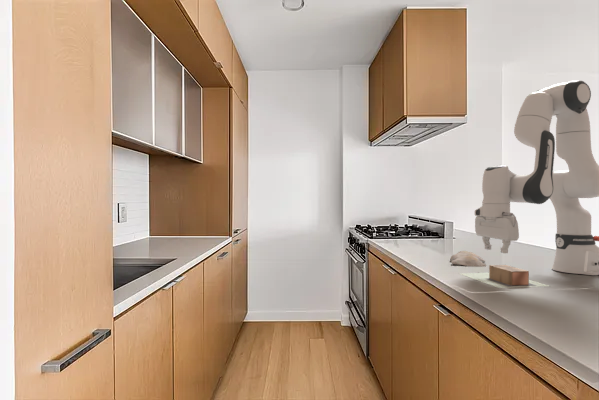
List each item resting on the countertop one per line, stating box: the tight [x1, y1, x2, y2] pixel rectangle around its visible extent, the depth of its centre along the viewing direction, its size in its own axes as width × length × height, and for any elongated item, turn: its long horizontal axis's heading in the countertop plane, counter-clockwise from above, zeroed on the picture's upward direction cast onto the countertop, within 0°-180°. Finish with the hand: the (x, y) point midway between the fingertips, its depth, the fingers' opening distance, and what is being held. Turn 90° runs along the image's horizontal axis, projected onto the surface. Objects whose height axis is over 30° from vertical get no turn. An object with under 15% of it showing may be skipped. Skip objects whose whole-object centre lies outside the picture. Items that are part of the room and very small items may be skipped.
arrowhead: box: [450, 250, 487, 268], centre depth 184 cm, size 14×5×30 cm
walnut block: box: [488, 264, 530, 286], centre depth 138 cm, size 6×4×12 cm
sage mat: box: [458, 272, 550, 289], centre depth 142 cm, size 18×24×1 cm
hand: (495, 251), depth 145 cm, fingers open, 8 cm apart
